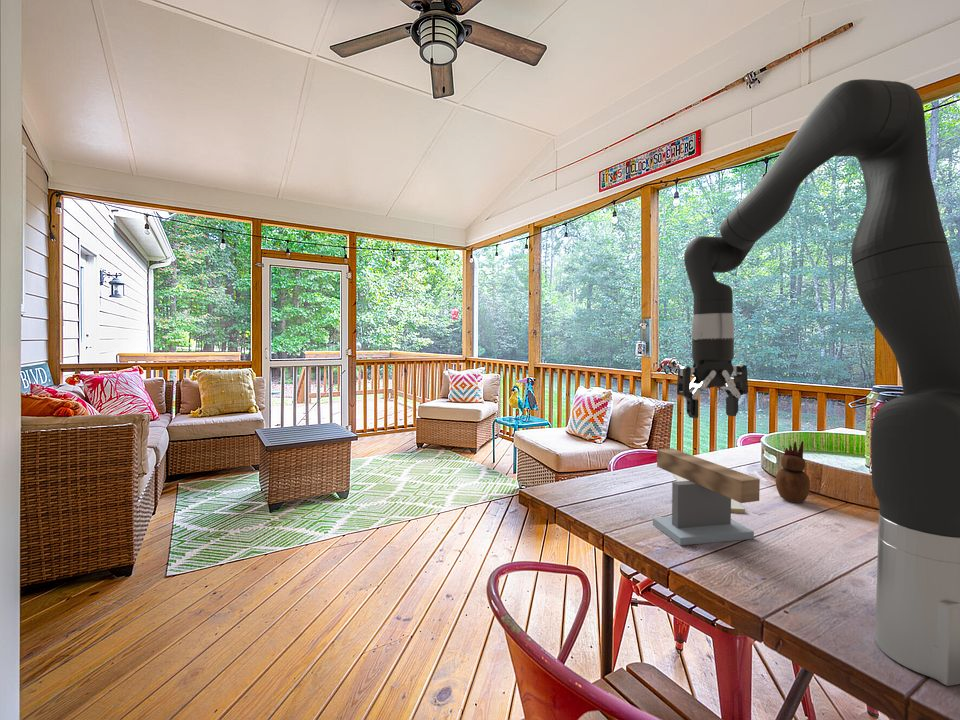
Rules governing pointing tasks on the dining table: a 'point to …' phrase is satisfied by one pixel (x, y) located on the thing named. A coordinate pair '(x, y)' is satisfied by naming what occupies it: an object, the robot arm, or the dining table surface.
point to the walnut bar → (710, 475)
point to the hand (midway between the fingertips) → (712, 416)
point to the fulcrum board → (703, 532)
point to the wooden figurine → (793, 476)
